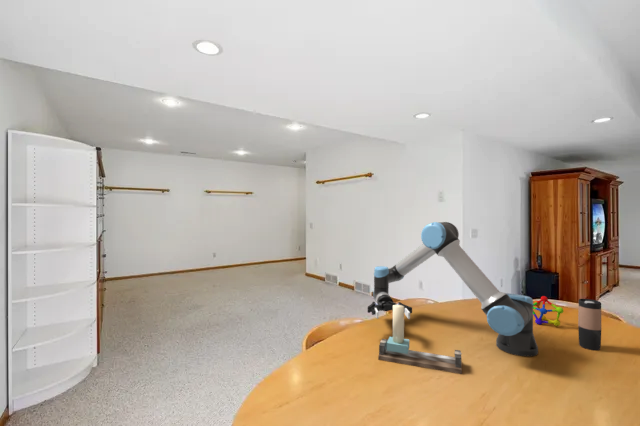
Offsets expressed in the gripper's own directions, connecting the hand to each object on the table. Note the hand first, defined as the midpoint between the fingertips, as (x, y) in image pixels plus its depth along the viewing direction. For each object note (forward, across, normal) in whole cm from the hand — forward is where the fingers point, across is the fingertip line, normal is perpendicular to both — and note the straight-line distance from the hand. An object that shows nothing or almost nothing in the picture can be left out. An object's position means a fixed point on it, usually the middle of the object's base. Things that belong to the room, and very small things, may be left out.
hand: (393, 315), depth 136 cm
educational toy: (-31, -85, -14) cm, 91 cm away
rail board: (+12, -8, -14) cm, 20 cm away
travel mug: (-3, -85, -14) cm, 87 cm away
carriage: (+10, 0, -10) cm, 14 cm away
